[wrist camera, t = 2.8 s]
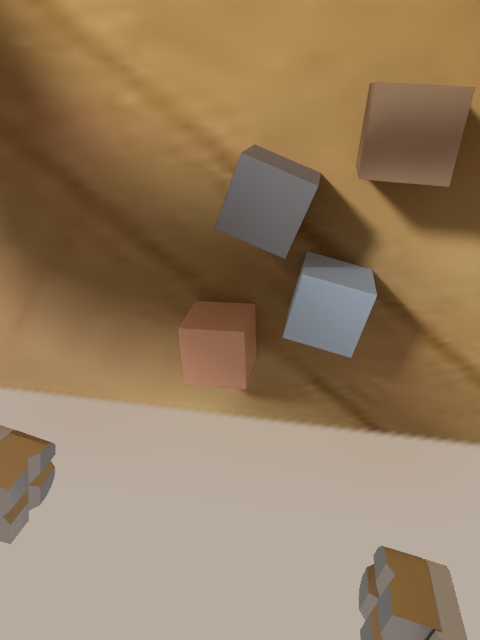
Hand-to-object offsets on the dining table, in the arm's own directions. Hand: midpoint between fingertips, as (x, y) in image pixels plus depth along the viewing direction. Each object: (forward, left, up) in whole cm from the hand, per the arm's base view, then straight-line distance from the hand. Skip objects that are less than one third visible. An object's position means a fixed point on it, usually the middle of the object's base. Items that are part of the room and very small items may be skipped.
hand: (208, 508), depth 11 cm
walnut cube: (-8, +5, -25) cm, 27 cm away
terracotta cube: (+10, -3, -25) cm, 27 cm away
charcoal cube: (-2, -2, -25) cm, 26 cm away
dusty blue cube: (+4, +4, -25) cm, 26 cm away
